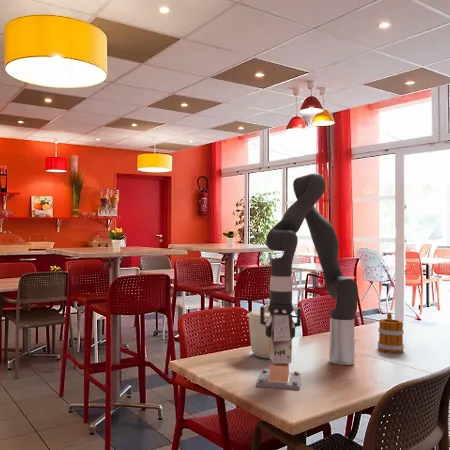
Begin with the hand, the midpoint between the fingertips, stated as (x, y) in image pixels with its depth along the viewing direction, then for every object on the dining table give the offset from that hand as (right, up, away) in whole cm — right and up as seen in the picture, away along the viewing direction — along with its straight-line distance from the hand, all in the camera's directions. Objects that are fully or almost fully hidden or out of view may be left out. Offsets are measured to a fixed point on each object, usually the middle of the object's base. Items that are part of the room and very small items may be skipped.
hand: (280, 337), depth 165 cm
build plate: (0, -15, 0) cm, 15 cm away
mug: (+53, -16, +48) cm, 73 cm away
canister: (-1, -15, +33) cm, 36 cm away
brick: (0, -13, 0) cm, 13 cm away
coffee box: (0, -8, 0) cm, 8 cm away
